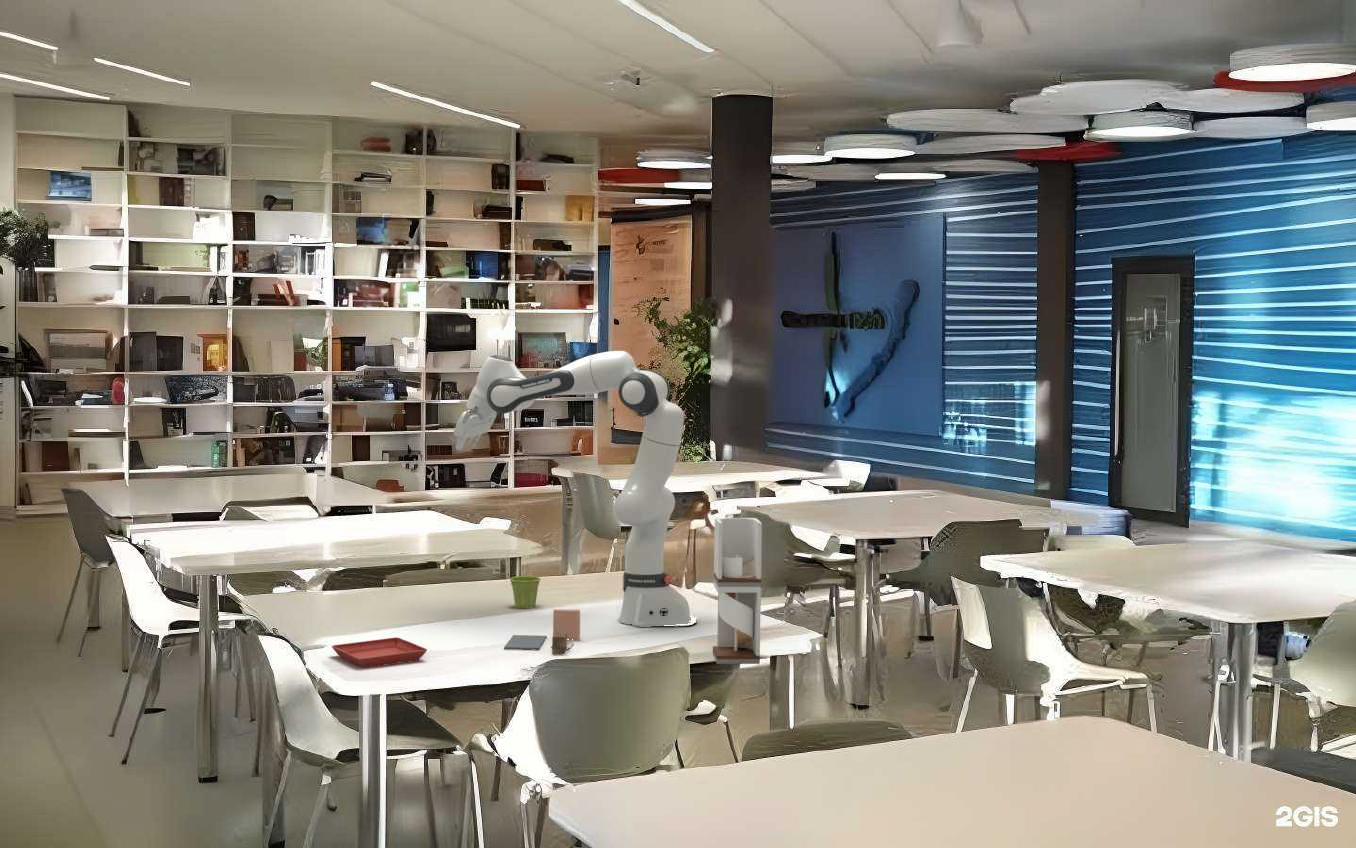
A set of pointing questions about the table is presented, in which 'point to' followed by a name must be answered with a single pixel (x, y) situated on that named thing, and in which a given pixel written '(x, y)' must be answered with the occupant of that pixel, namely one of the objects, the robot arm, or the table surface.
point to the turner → (560, 643)
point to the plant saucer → (379, 652)
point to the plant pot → (525, 590)
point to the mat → (525, 642)
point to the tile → (567, 622)
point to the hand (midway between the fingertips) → (464, 447)
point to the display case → (738, 589)
